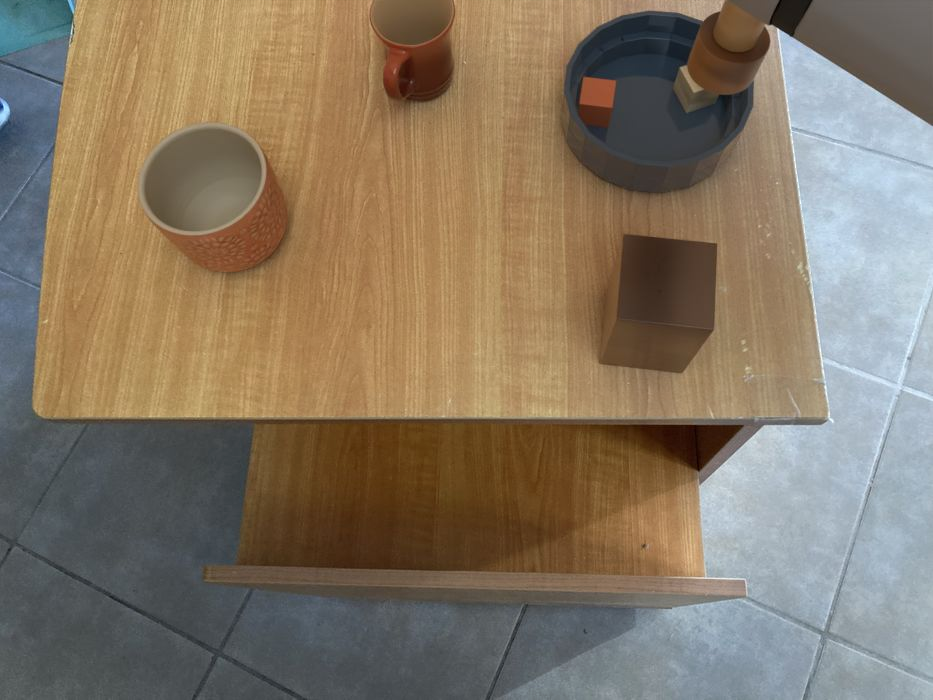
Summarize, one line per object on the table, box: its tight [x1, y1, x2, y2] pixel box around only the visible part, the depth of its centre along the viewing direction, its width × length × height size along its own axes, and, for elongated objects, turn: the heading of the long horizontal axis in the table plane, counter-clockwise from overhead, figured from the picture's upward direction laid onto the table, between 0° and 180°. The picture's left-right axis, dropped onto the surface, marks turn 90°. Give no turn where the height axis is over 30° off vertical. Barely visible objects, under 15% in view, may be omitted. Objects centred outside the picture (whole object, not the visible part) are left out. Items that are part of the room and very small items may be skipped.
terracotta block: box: [578, 77, 616, 128], centre depth 82 cm, size 4×4×4 cm
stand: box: [599, 233, 718, 374], centre depth 70 cm, size 8×8×12 cm
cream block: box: [673, 65, 719, 113], centre depth 82 cm, size 4×4×4 cm
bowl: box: [560, 10, 755, 194], centre depth 81 cm, size 19×19×6 cm
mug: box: [368, 0, 456, 102], centre depth 82 cm, size 12×9×10 cm
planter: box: [136, 121, 288, 273], centre depth 76 cm, size 12×12×11 cm
